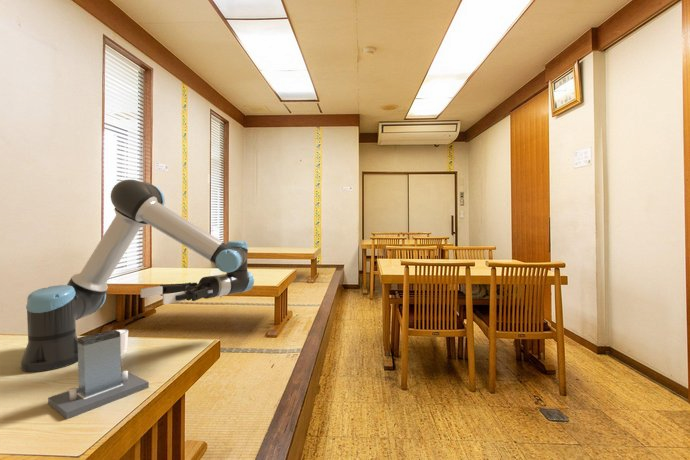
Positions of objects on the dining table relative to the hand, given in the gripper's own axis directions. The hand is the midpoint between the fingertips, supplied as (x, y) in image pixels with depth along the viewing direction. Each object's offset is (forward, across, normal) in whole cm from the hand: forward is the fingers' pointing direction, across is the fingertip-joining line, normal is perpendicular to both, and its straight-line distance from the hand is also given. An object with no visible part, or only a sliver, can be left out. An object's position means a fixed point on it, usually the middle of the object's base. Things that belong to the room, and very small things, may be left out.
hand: (151, 296), depth 106 cm
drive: (+16, -6, -20) cm, 27 cm away
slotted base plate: (+16, -6, -22) cm, 28 cm away
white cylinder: (0, +23, -22) cm, 32 cm away
